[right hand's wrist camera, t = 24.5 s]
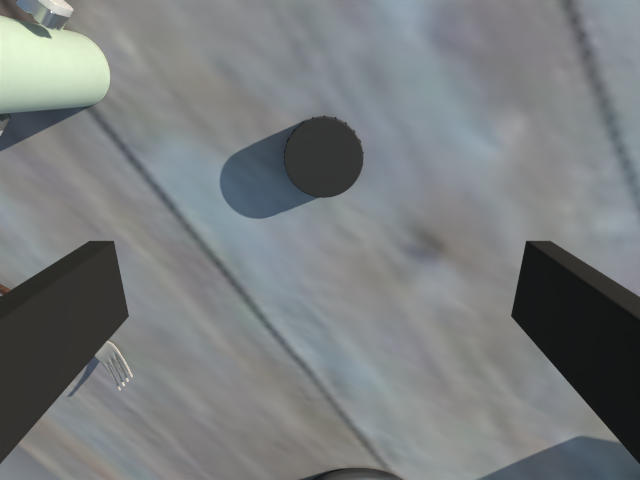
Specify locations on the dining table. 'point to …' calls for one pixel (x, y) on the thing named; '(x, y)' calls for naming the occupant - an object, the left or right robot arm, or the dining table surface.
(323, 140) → the lid
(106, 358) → the fork
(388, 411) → the dining table surface
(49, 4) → the left robot arm
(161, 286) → the dining table surface
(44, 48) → the jar
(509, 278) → the dining table surface
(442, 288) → the dining table surface
